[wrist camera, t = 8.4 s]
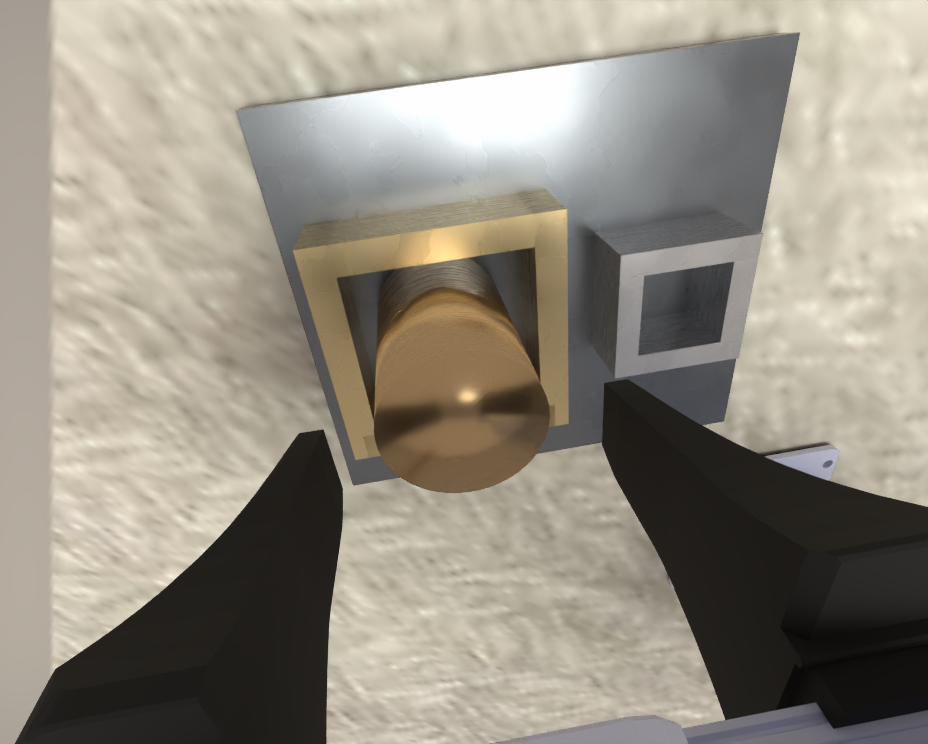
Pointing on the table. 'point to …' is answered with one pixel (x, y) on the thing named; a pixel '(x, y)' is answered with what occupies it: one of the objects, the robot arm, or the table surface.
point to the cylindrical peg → (453, 381)
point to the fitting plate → (538, 219)
